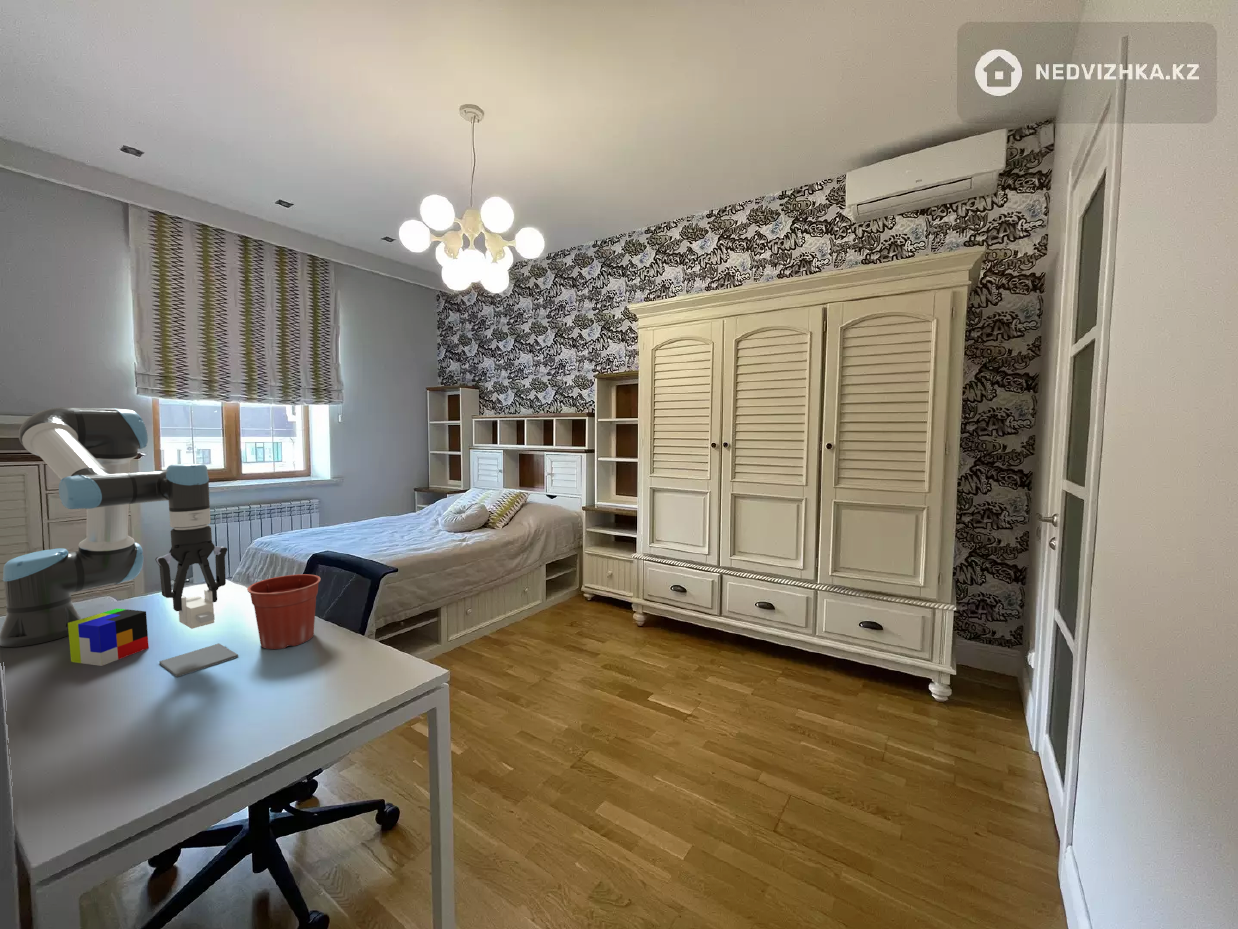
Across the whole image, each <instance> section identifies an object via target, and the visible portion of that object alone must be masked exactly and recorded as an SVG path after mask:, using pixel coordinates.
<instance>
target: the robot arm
mask: <svg viewBox="0 0 1238 929" xmlns="http://www.w3.org/2000/svg"><path fill="white" fill-rule="evenodd" d="M18 439H19V442H20V444H21V445H22V446H23V448H24V449H25V450H26V451H28V452H29V453H30V454H32V455H35V456H37V457H40V459H42V461H43V462H44V463H45V465H47V466H48V467H49V468H50V470H52V471H53V473H54V474H55V475H56V476H57V477H58V479H59V480H60V481H59V484H58V497H59V500H60V501H61V502H60V503H61V504H62V506H63V507H64V508H66V509H68V510H79V509H80V510H81V509H82V510H83V509H85V510H86V536H85V538H84V539H83V540H81V541H79V543H78V549H77V550H76V551H70V552H69V550H68V549H67V548H63V547H61V548H59V547H58V548H52V549H45V550H44V549H43V550H39V551H38V550H37V551H34V552H30V553H26V554H23V555H19V556H17V557H13V558H11V559H9V560H8V561H7V562H6V563H4V565H3V569H2V570H3V572H2V573H3V574H2V582H3V585H4V595H5V596H4V597H5V606H6V607H5V608H6V617H5V619H4V622H3V624H2V627H1V630H0V647H3V648H18V647H26V646H27V647H28V646H33V645H39V644H42V643H47V642H51V641H54V640H58V639H62V638H65V637H69V631H68V623H70V622H73V621H76V620H80V619H82V617H81V615H80V614H79V612H78V610H77V609H76V608H75V606H74V604H73V602H72V593H77V592H81V591H86V590H91V589H95V588H102V587H107V586H111V585H119V584H121V583H124V582H125V583H126V582H130V581H132V580H135V579H136V578H137V577H138V576H139V575H140V573H141V571H142V570H143V565H144V554H143V553H144V550H143V548H142V545H141V544H140V543H138V542H136V541H135V539H134V538H133V537H132V536H130V535H129V510H130V508H129V507H130V505H131V504H143V503H144V504H145V503H152V502H162V501H163V502H164V501H168V510H169V512H168V513H169V527H171V528H172V529H171V530H170V542H171V547H170V550H168V553H166V554H165V555H162V556H157V557H155V562H156V564H157V565H158V566H159V567H158V568H159V575H160V576H159V577H160V587H161V595H162V596H163V597H164V598H166V599H170V598H171V599H172V606H173V610H174V611H175V612H178V615H179V616H178V620H179V619H180V623H181V624H182V625H184V624H187V604H186V598H187V597H186V596H184V595H183V594H184V593H183V592H184V588H185V584H186V583H185V582H186V579H187V574H188V570H189V569H190V566H192V565H197V564H198V566H199V568H200V570H201V572H202V575H203V578H204V581H205V583H206V586H207V589H204V590H203V592H204V595H203V596H204V599H205V600H207V601H210V602H212V603H213V604H214V603H216V602H217V601H218V590H219V588H220V587H224V586H225V585H226V583H227V580H226V579H227V578H226V554H227V552H228V548H227V547H226V546H221V545H220V546H215V544H214V543H213V538H212V537H213V536H212V535H213V534H212V526H211V525H210V524H211V519H212V518H211V508H210V507H211V504H210V486H209V484H210V482H209V481H210V477H209V472H208V467H207V465H206V464H203V463H176V464H170V465H168V466H167V467H166V469H157V470H152V471H138V472H136V471H135V472H130V471H131V461H132V460H134V459H135V458H137V457H138V452H139V451H138V450H143V449H145V448H146V447H147V445H148V441H149V438H148V430H147V426H146V424H145V422H144V421H143V418H142V417H141V415H140V414H139V413H137V411H134V410H133V409H125V408H124V409H123V408H115V407H112V408H111V407H110V408H109V407H107V408H105V407H104V408H102V407H101V408H100V407H54V408H53V407H52V408H48V409H44V410H42V411H38V412H36V413H34V414H33V415H31V416H30V417H28V418H27V419H26V420H25V421H24V422H22V424H21V426H20V427H19V430H18ZM212 553H213V555H215V577H214V574H213V572H212V569H211V566H210V561H209V559H208V558H210V555H211V554H212ZM171 559H174V560H175V561H176V562H177V570H176V575H175V579H174V583H173V588H172V581H171V568H170V565H169V564H171V562H172V561H171Z"/></svg>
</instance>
